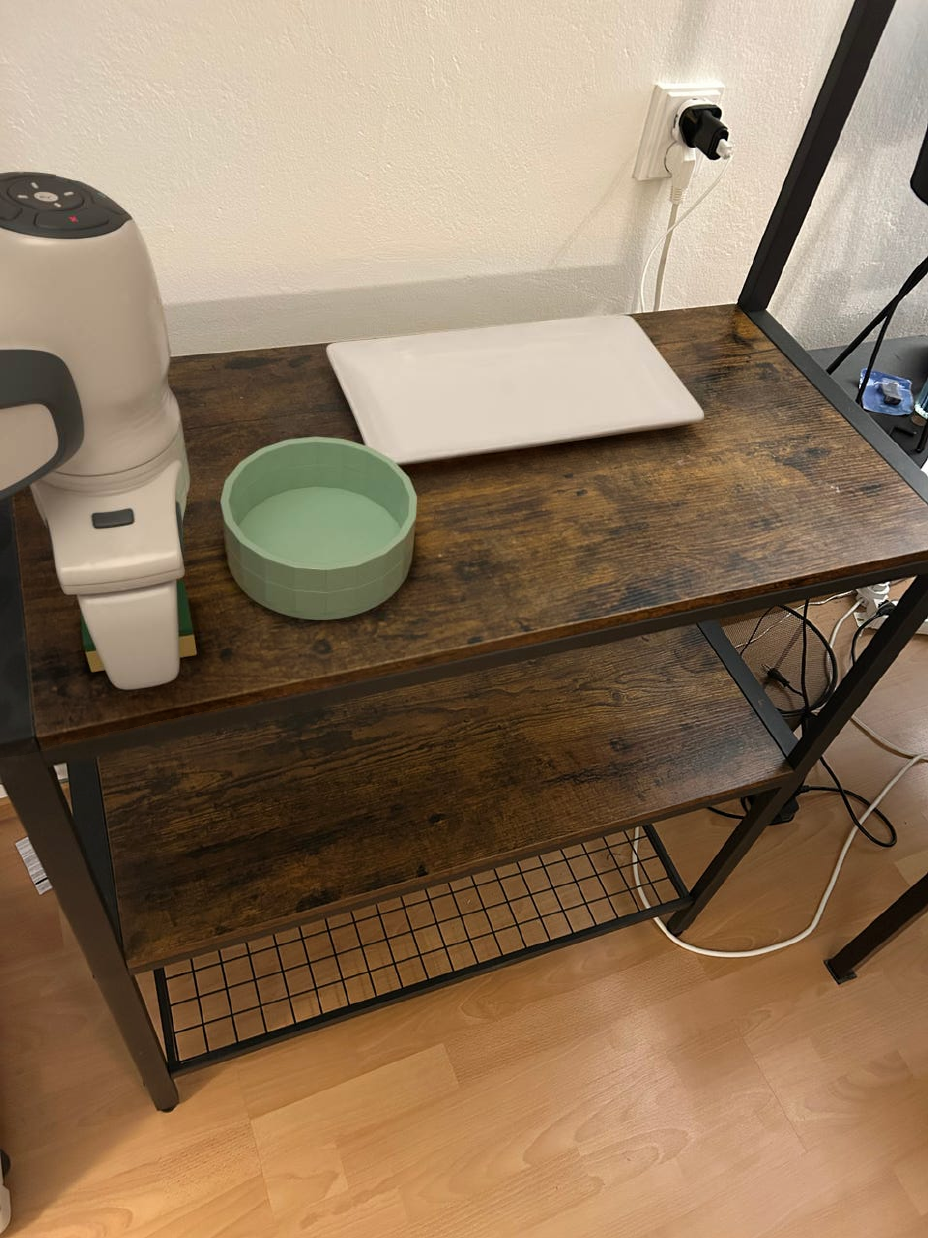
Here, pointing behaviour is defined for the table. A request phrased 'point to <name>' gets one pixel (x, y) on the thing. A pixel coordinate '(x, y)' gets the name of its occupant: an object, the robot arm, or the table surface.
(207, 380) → the table surface
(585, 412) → the tray
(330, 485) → the bowl
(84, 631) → the sponge
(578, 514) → the table surface
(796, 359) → the table surface
